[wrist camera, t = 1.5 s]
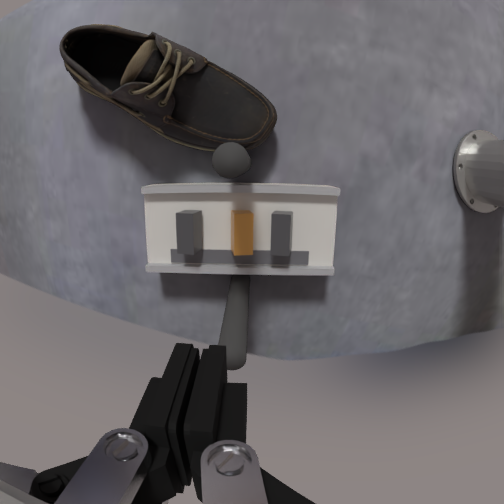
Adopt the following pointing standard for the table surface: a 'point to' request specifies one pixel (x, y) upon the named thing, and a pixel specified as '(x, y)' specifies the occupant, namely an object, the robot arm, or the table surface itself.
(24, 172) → the table surface
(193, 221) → the grey block
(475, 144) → the robot arm
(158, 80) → the boat shoe
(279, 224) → the grey block
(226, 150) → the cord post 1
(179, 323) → the table surface
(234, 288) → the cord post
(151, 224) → the breaker panel
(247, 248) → the rectangular block
